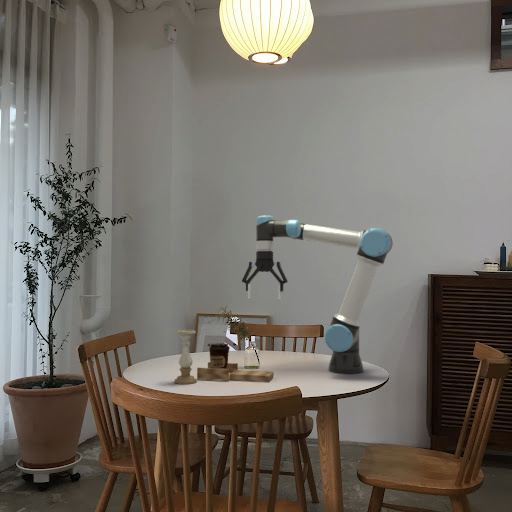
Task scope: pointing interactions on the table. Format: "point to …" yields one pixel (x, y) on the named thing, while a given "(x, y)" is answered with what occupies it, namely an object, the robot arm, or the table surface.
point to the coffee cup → (219, 355)
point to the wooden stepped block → (233, 374)
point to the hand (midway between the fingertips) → (264, 298)
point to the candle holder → (185, 359)
